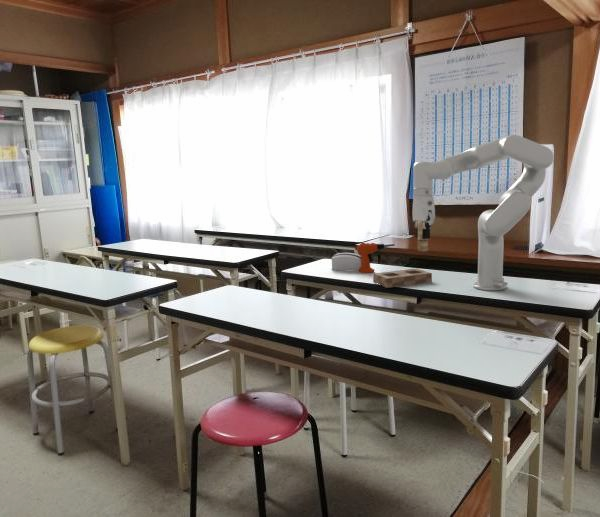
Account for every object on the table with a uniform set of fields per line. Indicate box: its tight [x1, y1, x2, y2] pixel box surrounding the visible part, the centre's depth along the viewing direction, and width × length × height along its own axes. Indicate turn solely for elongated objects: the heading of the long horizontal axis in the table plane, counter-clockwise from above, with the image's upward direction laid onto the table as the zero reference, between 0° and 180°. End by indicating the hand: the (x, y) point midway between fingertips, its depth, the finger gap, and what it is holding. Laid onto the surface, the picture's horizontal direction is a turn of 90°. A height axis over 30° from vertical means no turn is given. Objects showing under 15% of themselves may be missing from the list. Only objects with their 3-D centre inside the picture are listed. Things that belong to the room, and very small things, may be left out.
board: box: [372, 268, 433, 289], centre depth 228 cm, size 12×22×4 cm, turn 110°
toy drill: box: [356, 242, 396, 274], centre depth 249 cm, size 5×19×15 cm, turn 76°
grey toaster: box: [331, 252, 362, 272], centre depth 258 cm, size 17×5×10 cm, turn 66°
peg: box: [417, 219, 429, 252], centre depth 213 cm, size 4×4×14 cm
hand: (422, 237), depth 213 cm, fingers closed on peg, 4 cm apart
